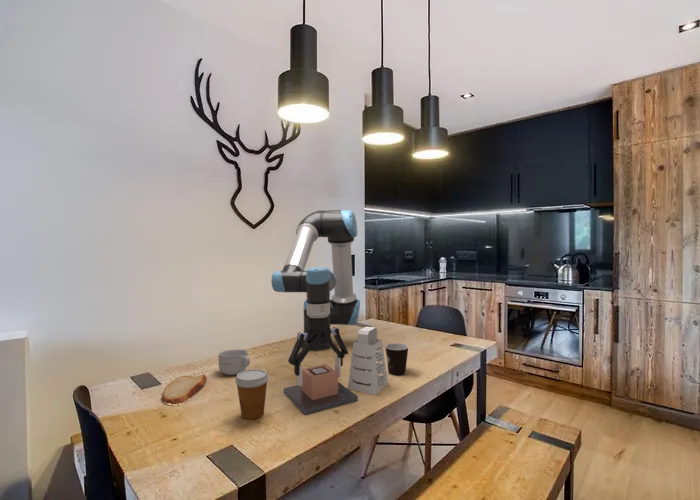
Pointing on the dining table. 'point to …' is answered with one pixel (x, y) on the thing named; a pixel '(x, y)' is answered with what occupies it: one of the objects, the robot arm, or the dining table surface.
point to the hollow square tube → (319, 382)
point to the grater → (367, 362)
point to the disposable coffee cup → (252, 392)
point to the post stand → (323, 403)
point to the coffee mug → (396, 358)
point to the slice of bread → (183, 388)
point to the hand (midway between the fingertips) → (319, 380)
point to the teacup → (233, 361)
